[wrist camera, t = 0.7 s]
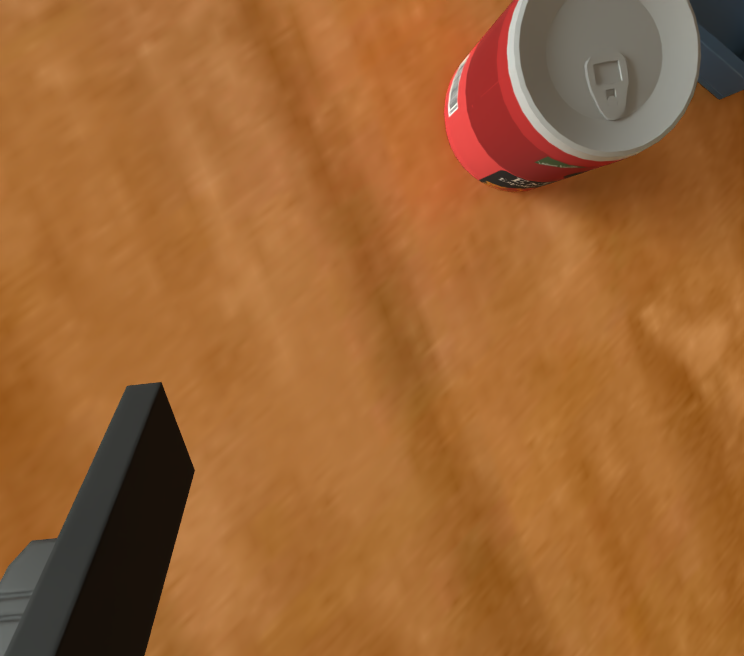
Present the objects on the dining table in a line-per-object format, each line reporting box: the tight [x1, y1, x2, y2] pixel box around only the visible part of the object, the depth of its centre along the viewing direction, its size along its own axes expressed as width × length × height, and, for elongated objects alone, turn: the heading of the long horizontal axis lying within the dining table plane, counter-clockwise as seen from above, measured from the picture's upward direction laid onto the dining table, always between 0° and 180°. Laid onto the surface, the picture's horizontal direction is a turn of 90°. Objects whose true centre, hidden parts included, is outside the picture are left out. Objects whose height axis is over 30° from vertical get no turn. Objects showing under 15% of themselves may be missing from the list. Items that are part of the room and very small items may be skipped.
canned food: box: [444, 0, 701, 192], centre depth 30 cm, size 8×8×11 cm
